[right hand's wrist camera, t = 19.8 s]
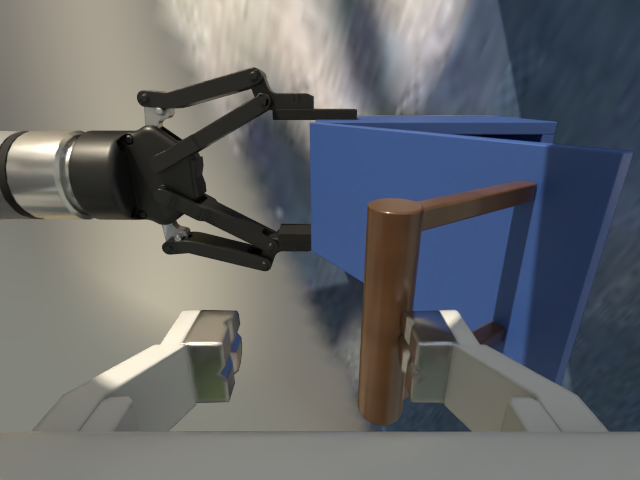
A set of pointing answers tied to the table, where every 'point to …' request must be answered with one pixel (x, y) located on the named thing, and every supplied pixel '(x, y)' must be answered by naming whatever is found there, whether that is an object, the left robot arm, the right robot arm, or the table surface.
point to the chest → (461, 125)
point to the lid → (461, 240)
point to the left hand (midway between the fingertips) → (353, 177)
